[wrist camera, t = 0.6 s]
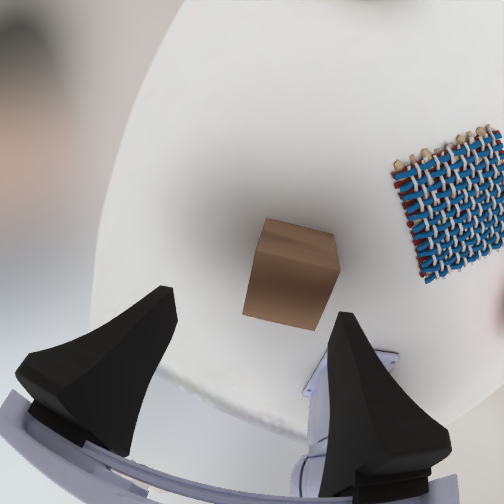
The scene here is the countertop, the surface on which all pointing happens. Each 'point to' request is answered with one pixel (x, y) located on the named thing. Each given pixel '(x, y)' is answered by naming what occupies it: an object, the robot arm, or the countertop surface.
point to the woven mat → (455, 202)
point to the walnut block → (291, 275)
